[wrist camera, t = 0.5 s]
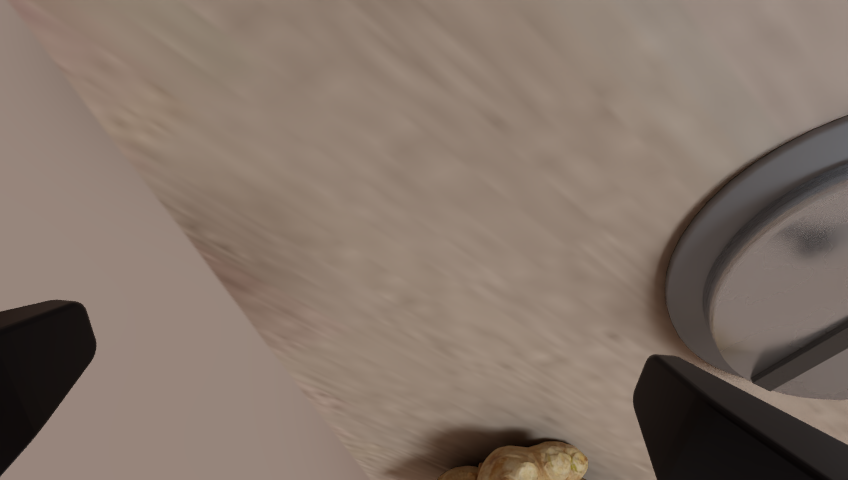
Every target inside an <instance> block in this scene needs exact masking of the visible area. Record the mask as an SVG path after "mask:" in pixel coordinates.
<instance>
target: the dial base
mask: <svg viewBox="0 0 848 480" xmlns="http://www.w3.org/2000/svg"><path fill="white" fill-rule="evenodd" d="M847 163H848V116H845V117H843V118H840V119H838V120H835V121H833V122H831V123H828V124H826V125H823V126H821V127H819V128H816V129H814V130H811V131H809V132H807V133H805V134H804V135H802V136H800V137H798V138H796V139H794V140H792V141H790V142H788V143H786V144H784V145H782V146H780V147H779V148H777V149H776V150H774V151H772V152H771V153H769V154H768V155H766V156H765V157H763V158H761V159H760V160H758V161H757V162H755V163H753V164H752V165H751V166H749V167H748V168H747V169H746V170H744V171H743V172H742V173H740V174H739V175H738V176H736V177H735V178H734V179H732V180H731V181H730V182H729V183H728V184H727V185H725V186H724V187H723V188H722V189H721V190H720V191H719V192H718V193H717V194H716V195H715V196H714V197H713V198H711V199H710V200H709V201H708V203H707V204H706V205H705V206H704V207H703V208H702V209H701V211H700V212H699V213H698V214H697V215H696V216H695V218H694V219H693V220H692V222H691V223H690V224H689V226H688V227H687V229H686V230H685V232H684V233H683V235H682V236H681V238H680V240H679V242H678V244H677V246H676V248H675V250H674V252H673V254H672V257H671V260H670V263H669V266H668V270H667V274H666V282H665V298H666V305H667V308H668V312H669V315H670V318H671V321H672V323H673V326H674V327H675V329H676V331H677V333H678V335H679V337H680V338H681V339H682V341H683V342H684V343H685V344H686V346H687V347H688V348H689V349H690V350H691V351H693V352H694V353H695V354H696V355H697V356H698V357H700V358H701V359H703V360H704V361H706V362H707V363H709V364H711V365H712V366H714V367H716V368H718V369H721V370H723V371H725V372H727V373H730V374H733V375H736V376H739V377H742V376H741V375H740V374H738V373H737V372H736V371H734V370H733V369H732V368H731V367H730V366H729V364H728V363H727V362H726V361H725V360H724V358H723V357H722V355H721V353H720V352H719V350H718V348H717V346H716V343H715V341H714V339H713V337H712V335H711V333H710V331H709V328H708V326H707V324H706V321H705V317H704V314H703V304H702V300H703V291H704V286H705V283H706V280H707V277H708V274H709V272H710V270H711V268H712V266H713V264H714V262H715V260H716V259H717V257H718V256H719V254H720V253H721V251H722V250H723V248H724V247H725V245H726V244H727V243H728V242H729V241H730V240H731V239H732V238H733V236H734V235H735V234H736V233H737V232H738V231H739V230H740V229H741V228H742V227H743V226H744V225H745V224H746V223H747V222H749V221H750V220H751V219H752V218H753V217H754V216H755V215H756V214H758V213H759V212H760V211H762V210H763V209H764V208H766V207H767V206H768V205H770V204H771V203H772V202H774V201H775V200H777V199H778V198H780V197H781V196H783V195H785V194H786V193H788V192H790V191H791V190H793V189H794V188H796V187H798V186H800V185H801V184H803V183H805V182H807V181H809V180H811V179H813V178H815V177H817V176H819V175H821V174H823V173H825V172H828V171H830V170H833V169H835V168H837V167H840V166H842V165H845V164H847ZM742 378H744V377H742Z"/></svg>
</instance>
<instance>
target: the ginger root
mask: <svg viewBox="0 0 848 480" xmlns="http://www.w3.org/2000/svg"><path fill="white" fill-rule="evenodd" d="M587 468H588V459H587V457H586V456H585V455H584V454H583V453H582V452H581V451H579V450H578V449H577V448H576V447H575V446H573V445H569V444H565V443H563V442H556V441H552V442H543V443H540V444H538V445H534V446H531V447H519V446H504V447H500V448H497V449H496V450H494V451H493V452H492V453H491V454H490V455H489V456H488V457H487V458H486V460H485V461H484V463H479V467H473V466H462V467H456V468H453V469H451V470H448V471H446V472H445V473H444V474H442V475H441V476H440V477H439V478H438V479H437V480H586V479H584V478H582V477H583V475H584V474H585V473H586V471H587Z"/></svg>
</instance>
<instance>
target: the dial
mask: <svg viewBox="0 0 848 480" xmlns="http://www.w3.org/2000/svg"><path fill="white" fill-rule="evenodd" d="M702 304H703V314H704V317H705V321H706V324H707V326H708V328H709V331H710V333H711V335H712V337H713V339H714V341H715V343H716V346H717V348H718V350H719V352H720V353H721V355H722V357H723V358H724V360H725V361H726V362H727V363H728V364H729V366H730V367H731V368H732V369H733V370H734V371H736V372H737V373H738V374H740V375H741V376H742V377H744V378H745V379H747V380H749V381H751V382H752V383H754V384H756V385H758V386H760V387H762V388H764V389H766V390H768V391H776V392H779V393H783V394H787V395H792V396H798V397H804V398H814V399H833V400H846V399H848V163H847V164H845V165H842V166H840V167H837V168H835V169H833V170H830V171H828V172H825V173H823V174H821V175H819V176H817V177H815V178H813V179H811V180H809V181H807V182H805V183H803V184H801V185H800V186H798V187H796V188H794V189H793V190H791V191H790V192H788V193H786V194H785V195H783V196H781V197H780V198H778V199H777V200H775V201H774V202H772V203H771V204H770V205H768V206H767V207H766V208H764V209H763V210H762V211H760V212H759V213H758V214H756V215H755V216H754V217H753V218H752V219H751V220H750V221H749V222H747V223H746V224H745V225H744V226H743V227H742V228H741V229H740V230H739V231H738V232H737V233H736V234H735V235H734V236H733V238H732V239H731V240H730V241H729V242H728V243H727V244H726V245H725V247H724V248H723V250H722V251H721V253H720V254H719V256H718V257H717V259H716V260H715V262H714V264H713V266H712V268H711V270H710V272H709V274H708V277H707V280H706V283H705V286H704V291H703V300H702Z"/></svg>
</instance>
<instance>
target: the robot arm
mask: <svg viewBox="0 0 848 480" xmlns="http://www.w3.org/2000/svg"><path fill="white" fill-rule="evenodd" d="M95 351H96V339H95V336H94V333H93V330H92V327H91V323H90V320H89V317H88V314H87V311H86V308H85V307H84V306H83V305H82V304H81V303H79V302H76V301H64V300H50V301H45V302H41V303H37V304H32V305H28V306H23V307H19V308H15V309H10V310H6V311H2V312H0V476H1V475H2V474H3V473H4V472H5V471H6V469H7V468H8V467H9V466H10V465H11V464H12V463H13V462H14V460H15V459H16V458H17V457H18V456H19V455H20V454H21V452H23V450H24V449H25V448H26V447H27V445H29V443H30V442H31V441H32V439H34V437H35V436H36V435H37V434H38V432H39V431H40V430H41V429H42V427H43V426H44V425H45V423H46V422H47V421H48V419H49V418H50V417H51V415H52V414H53V413H54V411H55V410H56V409H57V407H58V406H59V404H60V403H61V402H62V400H63V399H64V398H65V396H66V395H67V394H68V392H69V391H70V389H71V388H72V387H73V385H74V384H75V383H76V381H77V380H78V379H79V377H80V376H81V375H82V373H83V372H84V370H85V369H86V368H87V366H88V365H89V364H90V362H91V361H92V359H93V357H94V355H95ZM633 405H634V410H635V413H636V416H637V419H638V422H639V426H640V429H641V432H642V435H643V438H644V441H645V444H646V447H647V450H648V453H649V456H650V460H651V463H652V466H653V469H654V472H655V475H656V478H657V480H848V445H847V444H845V443H843V442H841V441H839V440H837V439H835V438H833V437H832V436H830V435H828V434H826V433H824V432H822V431H820V430H818V429H816V428H814V427H812V426H810V425H808V424H806V423H805V422H803V421H801V420H799V419H797V418H795V417H793V416H791V415H789V414H787V413H785V412H783V411H781V410H780V409H778V408H776V407H774V406H772V405H770V404H768V403H766V402H764V401H762V400H760V399H758V398H756V397H754V396H753V395H751V394H749V393H747V392H745V391H743V390H741V389H739V388H737V387H735V386H733V385H731V384H729V383H727V382H726V381H724V380H722V379H720V378H718V377H716V376H714V375H712V374H710V373H708V372H706V371H704V370H702V369H700V368H699V367H697V366H695V365H693V364H691V363H689V362H687V361H685V360H683V359H681V358H679V357H676V356H669V355H658V354H654V355H651V356H650V357H649V358H648V359H647V361H646V363H645V365H644V368H643V370H642V373H641V375H640V378H639V380H638V383H637V385H636V388H635V390H634V395H633Z"/></svg>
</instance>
